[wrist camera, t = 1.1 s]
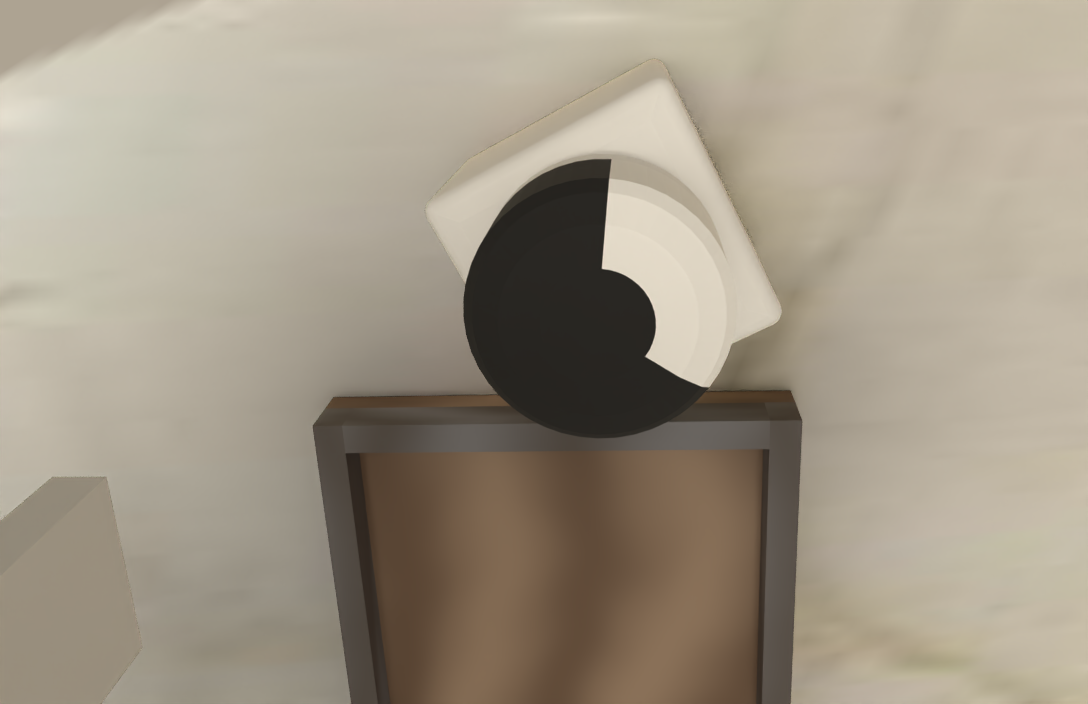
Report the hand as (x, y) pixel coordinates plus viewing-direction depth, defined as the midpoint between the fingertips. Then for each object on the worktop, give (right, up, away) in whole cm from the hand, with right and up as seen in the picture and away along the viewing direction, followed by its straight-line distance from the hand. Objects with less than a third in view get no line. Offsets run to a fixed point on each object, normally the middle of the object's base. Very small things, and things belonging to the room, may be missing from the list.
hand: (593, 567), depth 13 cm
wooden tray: (0, -6, +25) cm, 25 cm away
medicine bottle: (+2, +8, +20) cm, 21 cm away
